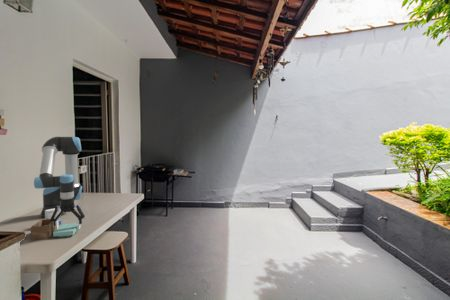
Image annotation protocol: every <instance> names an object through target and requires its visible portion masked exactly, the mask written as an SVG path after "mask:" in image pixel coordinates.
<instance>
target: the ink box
mask: <svg viewBox="0 0 450 300" xmlns="http://www.w3.org/2000/svg"><path fill="white" fill-rule="evenodd" d="M54 211H55V208H54V209H49V210H45V218H44V219H51V217H52V215H53V213H54ZM60 212H61V209H60V208H59V209H58V211H57V213H56V216H55V218H56V217H57V216H58V214H59V213H60ZM55 218H54V219H55ZM57 220H58V223H59V226H61V225H62V215H61V216H60V217H59V218H58V219H57Z"/></svg>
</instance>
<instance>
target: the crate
mask: <svg viewBox="0 0 450 300" xmlns="http://www.w3.org/2000/svg"><path fill="white" fill-rule="evenodd" d="M54 231H56V226H54V221H50V219H45V218H43V219H40V220H39V221H37V222H36V223H34V224H33V225H32V226H30V240H31V241H34V240H35V241H36V240H45V239H46V240H47V239H49V238H50V237H51V236H53V232H54Z"/></svg>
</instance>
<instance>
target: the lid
mask: <svg viewBox="0 0 450 300" xmlns="http://www.w3.org/2000/svg"><path fill="white" fill-rule="evenodd" d="M81 225H82V223H81V224H80V228H81V227H82V226H81ZM77 232H78V222H77V223H76V222H75V223H61V224H60V225H59V228H58V229H57V230H56V231H54V232H53V234H52V237H58V238H63V237H65V238H66V237H71V236H73V235H74V234H75V233H77Z"/></svg>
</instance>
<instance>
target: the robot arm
mask: <svg viewBox="0 0 450 300" xmlns="http://www.w3.org/2000/svg"><path fill="white" fill-rule="evenodd" d="M81 143H82V142H81V138H79V137H77V136H54V137H51V138H49V139H47V140H46V141H45V142H44V144H43V145H42V147H41V152H42V157H41V165H40V169H39V175H38V176H37V177H34V180H33V186H34V188H35V189H43V190H42V205H43V206H42V210H41V212H40V218H42V219H45V210H49V209H54V208H55V211H54V213H53V215H52V217H51V219H50V221H54V226H56V230H57V229H58V228H59V227H60V225H59V223H58V220H57V219H58V218H59V217H60V216H61V217H62V216H63V215H64V214H65V213H70V212H71V213H72V214H73V215H74V216H75V217H76V218H77V223H78V230H80V229H81V227H80V224H81V225H82V224H83V219H85V217H86V216H85V214H84V212H83V210H82V209H81V205H80V203H78V204H75V201H77V200H78V201H79V200H80V199H81V198H82V191H83V186H82V185H81V183H79V169H78V167H79V166H78V165H79V164H78V155H79V154H80V152H82V144H81ZM58 152H61V153H62V155H64V165H65V166H64V168H65V171H64V172H65V173H64V174H61V175H57V176H56V175H54V170H55V161H56V155H57V153H58ZM59 208H60V209H61V212H60V213H59V214H58V216H57V217H56V218H55V216H56V213H57V211H58V209H59ZM75 208H76V209H75ZM54 218H55V219H54ZM78 230H77V231H78Z"/></svg>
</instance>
